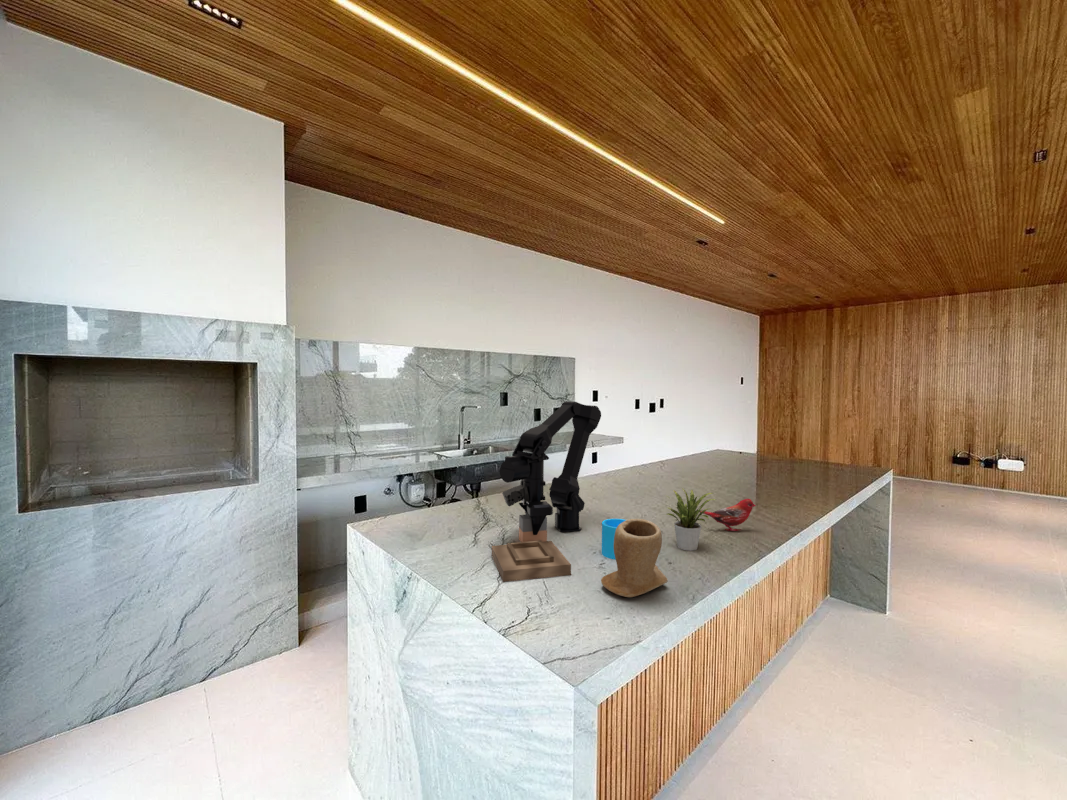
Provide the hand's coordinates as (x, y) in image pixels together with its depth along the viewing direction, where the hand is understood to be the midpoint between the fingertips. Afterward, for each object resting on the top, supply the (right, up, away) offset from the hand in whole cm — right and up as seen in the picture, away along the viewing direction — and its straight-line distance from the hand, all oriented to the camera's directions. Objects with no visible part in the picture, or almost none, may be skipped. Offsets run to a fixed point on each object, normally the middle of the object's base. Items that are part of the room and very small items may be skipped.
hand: (532, 532), depth 130 cm
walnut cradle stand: (-1, -3, -17) cm, 17 cm away
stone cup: (+23, -4, -29) cm, 37 cm away
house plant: (+43, -3, -4) cm, 44 cm away
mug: (+24, -3, -8) cm, 25 cm away
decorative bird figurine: (+58, -3, +10) cm, 59 cm away
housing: (0, -3, 0) cm, 2 cm away
